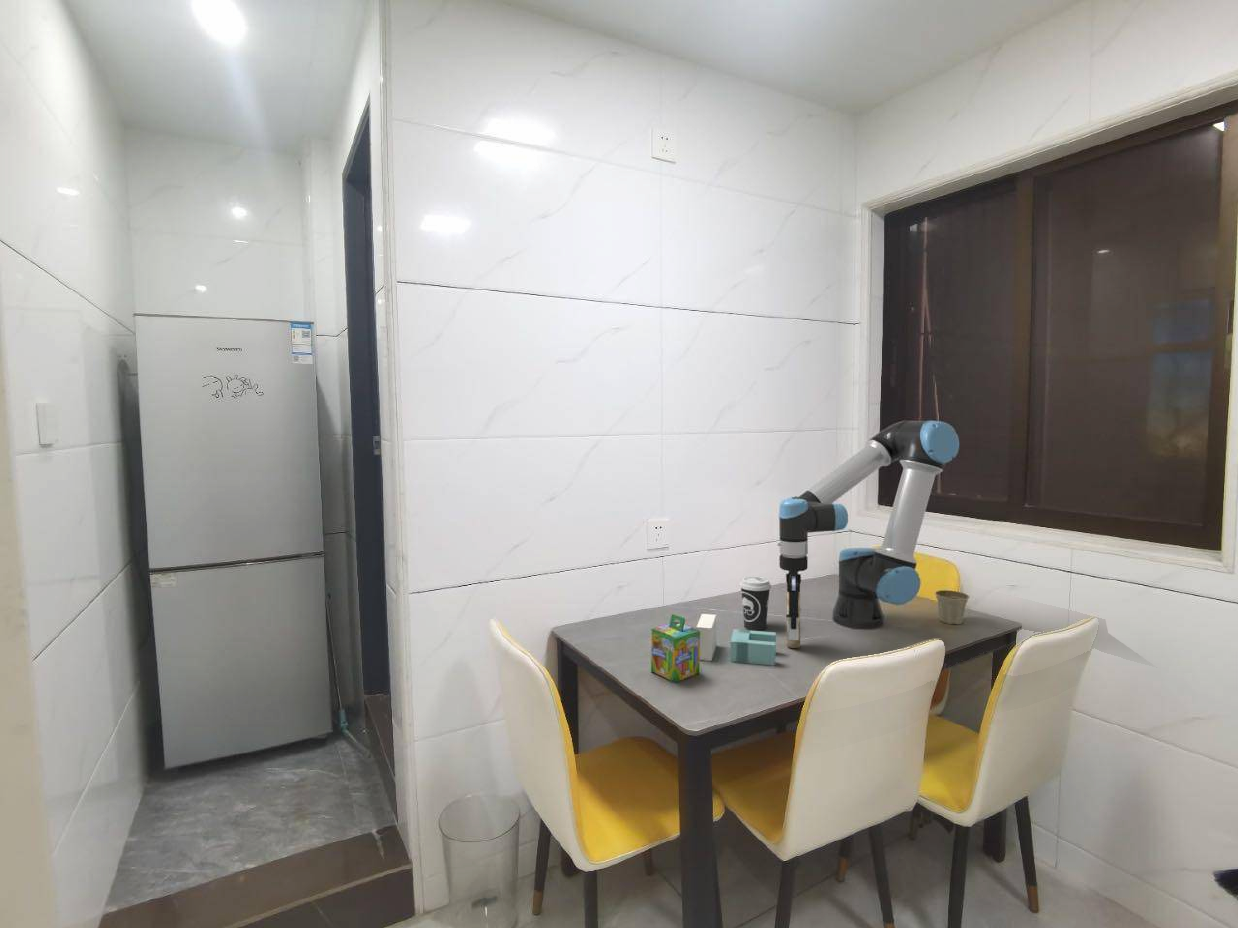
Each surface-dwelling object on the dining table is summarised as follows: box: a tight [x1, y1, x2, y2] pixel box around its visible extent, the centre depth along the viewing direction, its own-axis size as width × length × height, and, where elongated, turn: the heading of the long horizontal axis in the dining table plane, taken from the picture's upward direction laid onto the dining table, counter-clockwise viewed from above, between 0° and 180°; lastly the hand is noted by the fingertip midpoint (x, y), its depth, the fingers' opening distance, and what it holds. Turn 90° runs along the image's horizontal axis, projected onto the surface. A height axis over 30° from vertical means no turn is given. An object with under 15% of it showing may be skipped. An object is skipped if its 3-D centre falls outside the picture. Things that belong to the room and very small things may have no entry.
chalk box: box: [650, 613, 701, 684], centre depth 155 cm, size 9×9×15 cm
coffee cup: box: [739, 575, 772, 632], centre depth 187 cm, size 10×10×15 cm
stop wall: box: [695, 613, 717, 662], centre depth 168 cm, size 4×11×9 cm, turn 165°
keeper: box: [730, 628, 777, 666], centre depth 165 cm, size 12×9×6 cm
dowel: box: [786, 591, 801, 649], centre depth 171 cm, size 4×4×15 cm
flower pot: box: [934, 589, 970, 625], centre depth 190 cm, size 9×9×9 cm
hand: (793, 636), depth 171 cm, fingers closed on dowel, 3 cm apart
